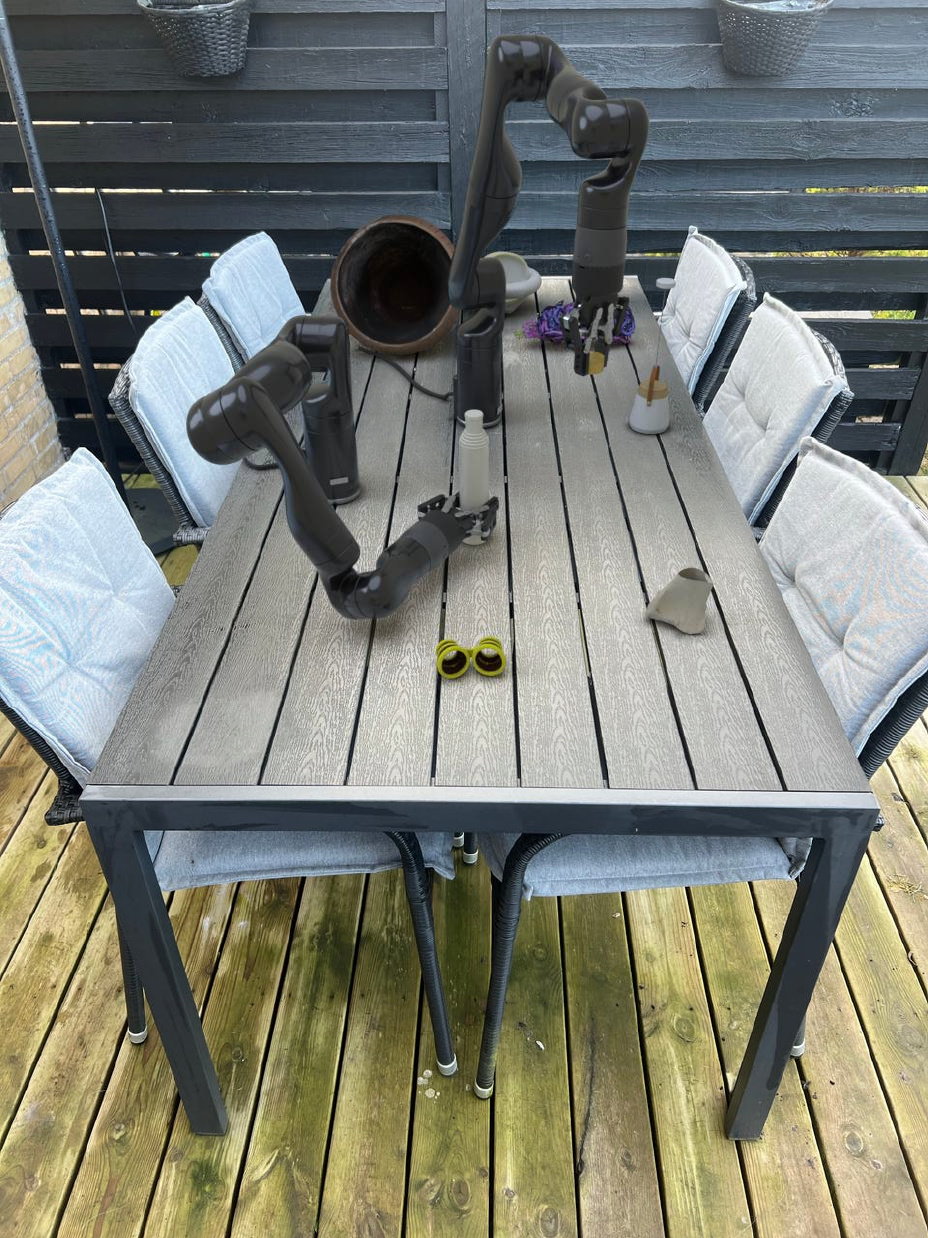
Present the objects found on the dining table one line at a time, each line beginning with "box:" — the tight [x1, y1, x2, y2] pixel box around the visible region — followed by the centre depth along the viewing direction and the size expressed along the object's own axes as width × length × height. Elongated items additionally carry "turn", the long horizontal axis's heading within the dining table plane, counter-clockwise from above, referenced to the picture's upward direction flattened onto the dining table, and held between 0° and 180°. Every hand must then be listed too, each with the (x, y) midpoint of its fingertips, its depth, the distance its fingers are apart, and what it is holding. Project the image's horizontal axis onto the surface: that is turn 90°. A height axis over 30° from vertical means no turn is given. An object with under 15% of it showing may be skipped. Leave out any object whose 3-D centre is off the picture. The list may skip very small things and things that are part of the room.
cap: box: [588, 350, 605, 375], centre depth 143 cm, size 4×4×2 cm
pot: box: [329, 213, 460, 356], centre depth 230 cm, size 32×32×30 cm
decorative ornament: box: [513, 299, 636, 345], centre depth 229 cm, size 13×11×30 cm
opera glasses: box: [435, 635, 507, 679], centre depth 132 cm, size 10×5×5 cm, turn 95°
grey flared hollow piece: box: [645, 566, 715, 635], centre depth 139 cm, size 9×8×10 cm
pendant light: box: [628, 277, 677, 435], centre depth 186 cm, size 8×8×30 cm
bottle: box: [458, 410, 490, 546], centre depth 155 cm, size 5×5×23 cm
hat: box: [483, 251, 543, 314], centre depth 248 cm, size 25×22×15 cm
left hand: (481, 497), depth 159 cm, fingers closed on bottle, 5 cm apart
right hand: (590, 369), depth 144 cm, fingers closed on cap, 4 cm apart
